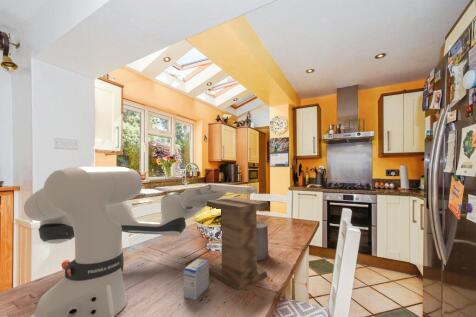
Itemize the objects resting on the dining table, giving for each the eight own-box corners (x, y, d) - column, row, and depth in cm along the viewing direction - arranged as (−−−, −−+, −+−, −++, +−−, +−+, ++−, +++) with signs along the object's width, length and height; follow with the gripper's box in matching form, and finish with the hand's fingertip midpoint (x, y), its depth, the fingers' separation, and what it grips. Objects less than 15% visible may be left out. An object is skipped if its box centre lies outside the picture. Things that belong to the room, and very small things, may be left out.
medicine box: (197, 284, 74) (197, 258, 74) (209, 287, 72) (209, 259, 72) (183, 297, 66) (183, 268, 67) (196, 301, 65) (196, 270, 65)
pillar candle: (258, 250, 103) (257, 217, 104) (273, 257, 96) (272, 221, 96) (241, 255, 98) (240, 221, 98) (255, 263, 90) (255, 225, 90)
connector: (251, 194, 74) (250, 187, 74) (205, 189, 93) (205, 183, 93) (258, 194, 77) (258, 186, 77) (212, 189, 96) (212, 183, 96)
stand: (240, 291, 69) (239, 207, 70) (206, 271, 83) (206, 201, 84) (269, 276, 79) (268, 202, 80) (235, 260, 92) (234, 197, 93)
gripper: (218, 203, 106) (235, 190, 98) (179, 209, 92) (195, 195, 84) (214, 191, 109) (230, 178, 100) (176, 195, 95) (190, 180, 86)
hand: (214, 185), depth 92 cm, fingers closed on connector, 4 cm apart
